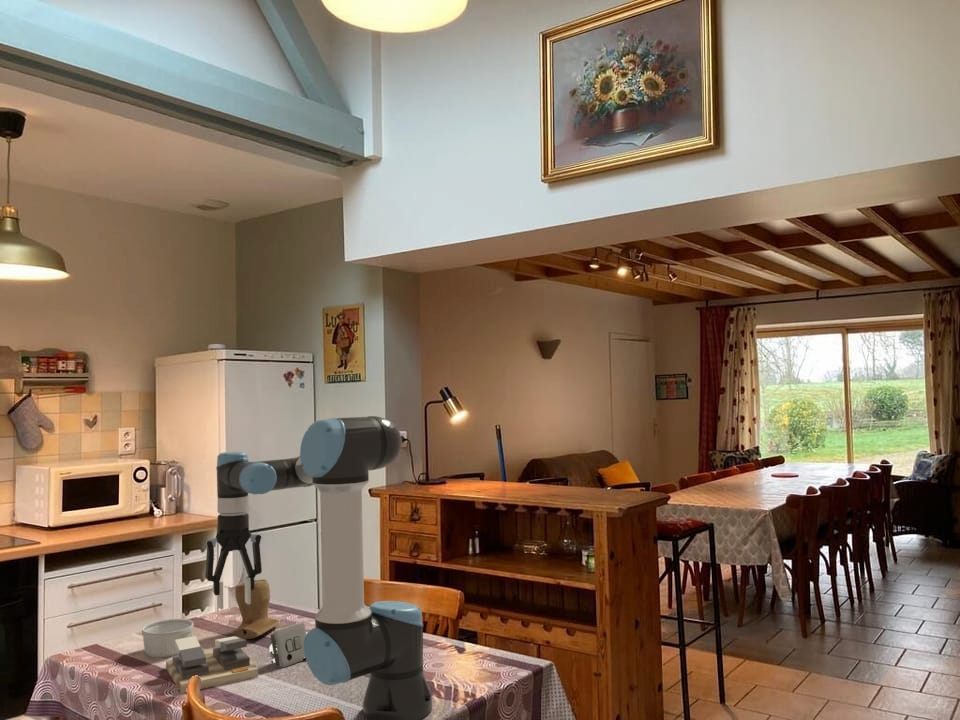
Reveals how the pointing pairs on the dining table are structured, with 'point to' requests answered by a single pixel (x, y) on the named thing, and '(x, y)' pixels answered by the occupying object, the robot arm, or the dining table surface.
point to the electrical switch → (289, 644)
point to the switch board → (213, 669)
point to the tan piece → (254, 610)
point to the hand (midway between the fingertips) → (234, 605)
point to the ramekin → (165, 636)
